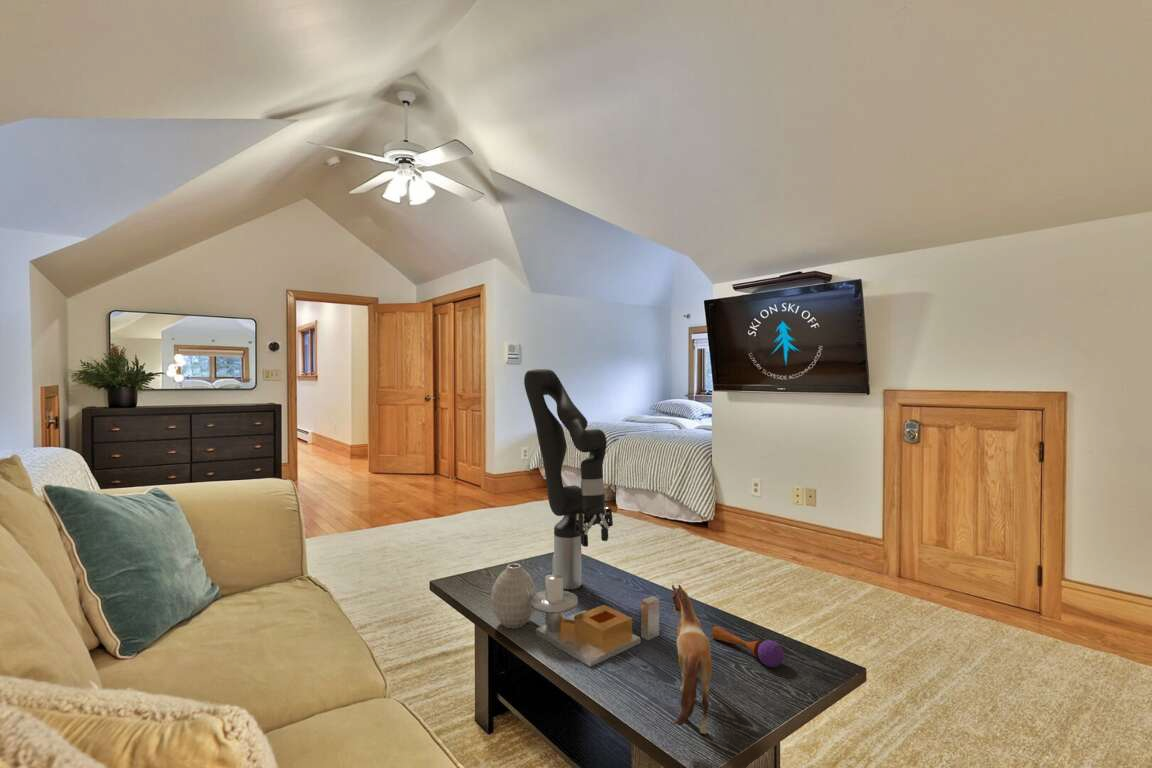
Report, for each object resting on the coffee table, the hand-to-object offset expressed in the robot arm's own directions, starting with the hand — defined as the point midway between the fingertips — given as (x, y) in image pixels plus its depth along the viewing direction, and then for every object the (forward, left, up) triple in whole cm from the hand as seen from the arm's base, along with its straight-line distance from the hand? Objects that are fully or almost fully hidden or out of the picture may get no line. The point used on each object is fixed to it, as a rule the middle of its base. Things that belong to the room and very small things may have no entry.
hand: (594, 543), depth 173 cm
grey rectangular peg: (+29, -6, -17) cm, 34 cm away
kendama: (+51, +6, -18) cm, 54 cm away
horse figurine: (+53, -25, -17) cm, 61 cm away
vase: (-1, -30, -17) cm, 35 cm away
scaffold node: (+17, -21, -17) cm, 32 cm away
